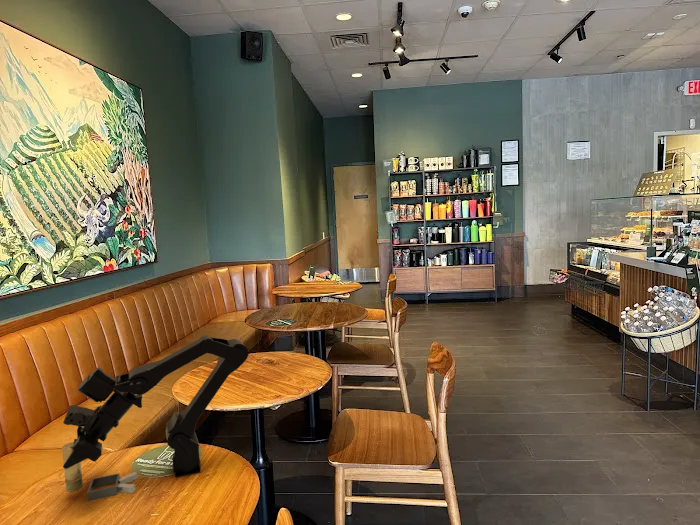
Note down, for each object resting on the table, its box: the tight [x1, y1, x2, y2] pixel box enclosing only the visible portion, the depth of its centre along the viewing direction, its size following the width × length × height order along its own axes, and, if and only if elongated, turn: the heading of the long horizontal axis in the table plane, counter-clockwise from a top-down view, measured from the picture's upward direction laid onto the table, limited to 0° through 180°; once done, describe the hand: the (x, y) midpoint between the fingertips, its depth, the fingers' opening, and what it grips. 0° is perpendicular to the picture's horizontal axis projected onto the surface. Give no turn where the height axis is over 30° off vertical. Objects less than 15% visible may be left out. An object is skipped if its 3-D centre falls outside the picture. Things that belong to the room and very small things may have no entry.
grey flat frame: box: [87, 471, 138, 502], centre depth 116 cm, size 11×8×2 cm
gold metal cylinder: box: [61, 441, 84, 493], centre depth 113 cm, size 4×4×11 cm
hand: (65, 463), depth 112 cm, fingers closed on gold metal cylinder, 4 cm apart
